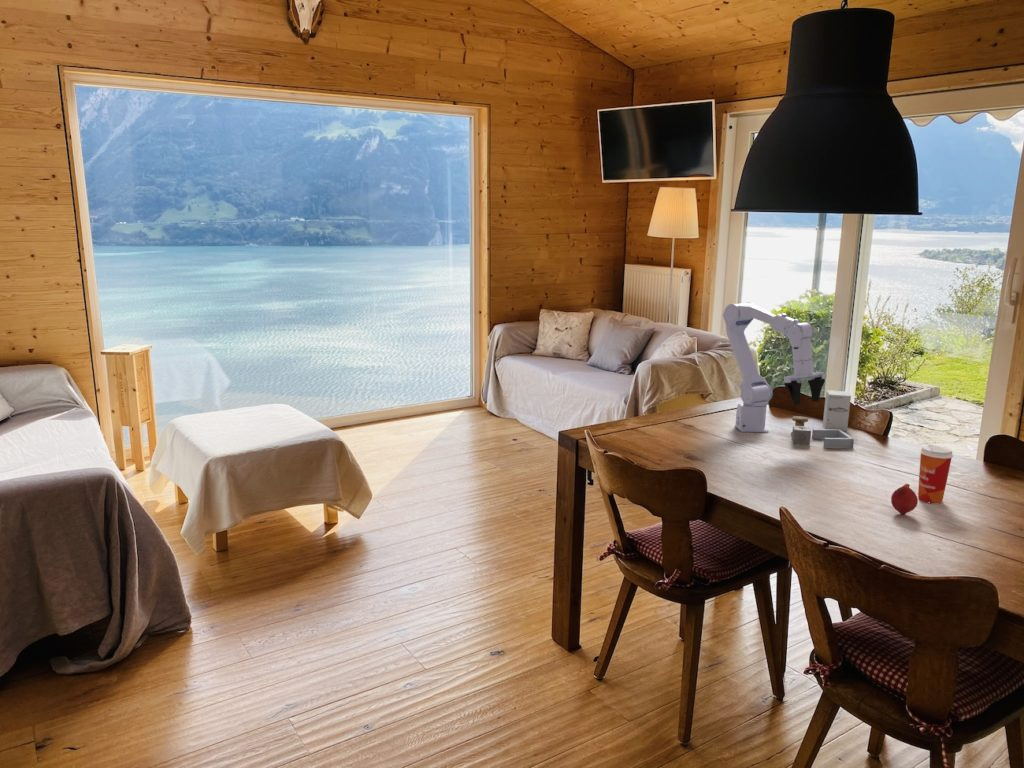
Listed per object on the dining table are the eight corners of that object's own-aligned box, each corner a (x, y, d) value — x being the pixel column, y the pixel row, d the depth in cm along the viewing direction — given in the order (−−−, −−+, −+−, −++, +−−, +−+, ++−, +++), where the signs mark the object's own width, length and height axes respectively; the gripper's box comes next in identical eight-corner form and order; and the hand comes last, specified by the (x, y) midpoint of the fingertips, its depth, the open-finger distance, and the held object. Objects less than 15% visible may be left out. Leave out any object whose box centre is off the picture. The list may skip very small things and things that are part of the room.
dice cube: (807, 441, 251) (809, 426, 250) (809, 445, 246) (811, 431, 245) (791, 440, 252) (793, 425, 251) (793, 444, 247) (794, 429, 246)
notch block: (824, 447, 244) (825, 438, 243) (811, 437, 255) (812, 429, 254) (853, 448, 244) (854, 439, 243) (839, 438, 254) (840, 429, 254)
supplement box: (824, 429, 264) (827, 394, 261) (822, 424, 271) (826, 389, 268) (847, 431, 262) (851, 395, 259) (845, 426, 269) (848, 390, 266)
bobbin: (793, 437, 255) (795, 420, 253) (788, 433, 259) (790, 416, 258) (808, 437, 255) (810, 420, 253) (803, 433, 259) (805, 416, 258)
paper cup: (908, 494, 204) (914, 443, 201) (937, 494, 204) (944, 444, 201) (922, 505, 197) (929, 453, 193) (953, 505, 196) (960, 453, 193)
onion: (903, 520, 187) (907, 489, 185) (884, 511, 192) (887, 481, 190) (920, 516, 189) (924, 486, 187) (900, 508, 194) (904, 478, 193)
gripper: (793, 362, 237) (797, 406, 238) (829, 357, 243) (833, 400, 243) (777, 363, 244) (781, 405, 245) (813, 358, 249) (817, 400, 250)
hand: (806, 403), depth 244 cm, fingers open, 7 cm apart
